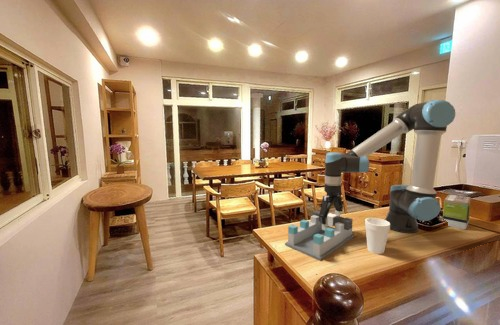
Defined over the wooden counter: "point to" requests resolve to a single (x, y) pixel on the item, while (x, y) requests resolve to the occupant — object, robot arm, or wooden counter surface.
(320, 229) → the grey peg rack
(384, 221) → the foam cup
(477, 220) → the wooden counter surface
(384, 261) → the wooden counter surface
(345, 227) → the grey banded pillar
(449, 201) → the tea box
